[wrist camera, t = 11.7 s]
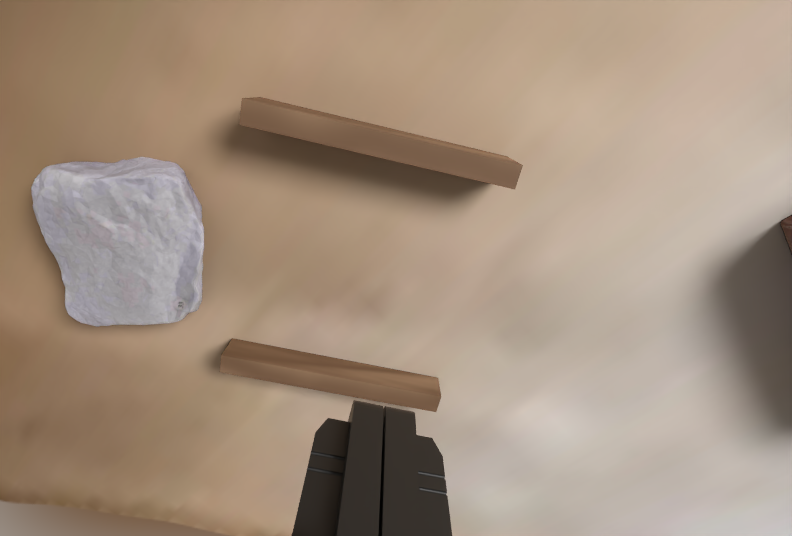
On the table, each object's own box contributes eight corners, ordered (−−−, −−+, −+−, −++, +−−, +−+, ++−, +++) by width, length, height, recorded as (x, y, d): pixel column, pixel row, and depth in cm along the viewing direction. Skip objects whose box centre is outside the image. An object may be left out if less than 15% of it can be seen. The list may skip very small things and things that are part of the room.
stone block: (200, 150, 33) (45, 158, 31) (186, 162, 29) (6, 172, 27) (227, 297, 38) (94, 311, 36) (219, 326, 34) (67, 343, 32)
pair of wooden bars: (260, 97, 30) (241, 98, 26) (507, 156, 32) (522, 165, 28) (230, 354, 37) (212, 383, 33) (433, 392, 39) (438, 424, 35)
